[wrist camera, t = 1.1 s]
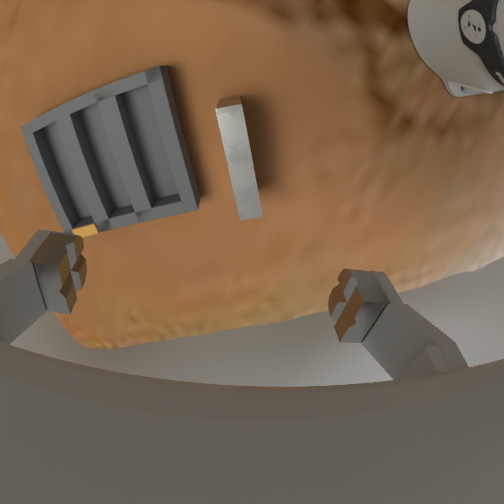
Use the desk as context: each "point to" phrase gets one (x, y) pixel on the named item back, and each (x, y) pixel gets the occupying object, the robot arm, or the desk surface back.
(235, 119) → the panel
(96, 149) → the rack
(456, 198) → the desk surface
